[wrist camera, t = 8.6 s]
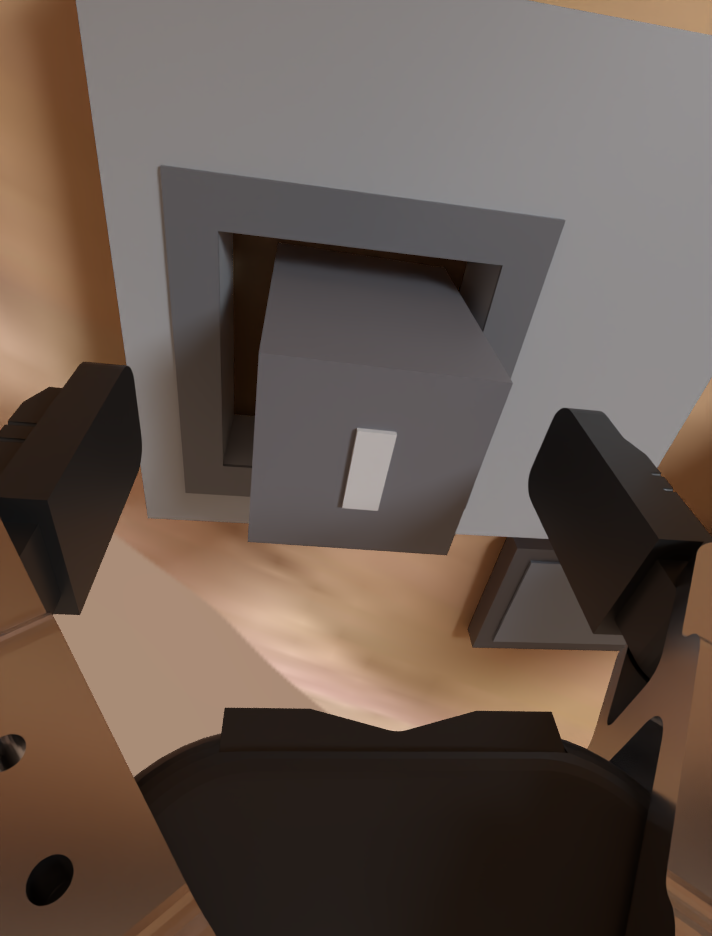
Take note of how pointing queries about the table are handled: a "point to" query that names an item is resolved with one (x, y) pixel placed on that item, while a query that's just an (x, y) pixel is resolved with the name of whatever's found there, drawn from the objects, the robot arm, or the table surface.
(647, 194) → the outlet plate
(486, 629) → the phone
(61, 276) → the table surface
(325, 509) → the block
